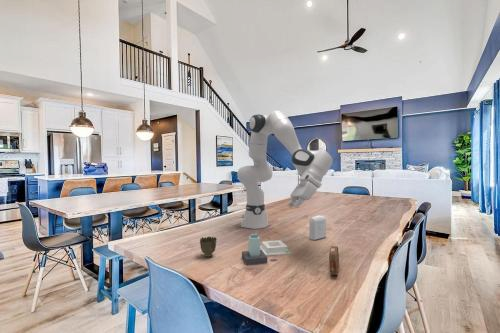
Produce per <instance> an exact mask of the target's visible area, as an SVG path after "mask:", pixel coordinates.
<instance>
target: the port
mask: <svg viewBox="0 0 500 333" xmlns="http://www.w3.org/2000/svg"><path fill="white" fill-rule="evenodd" d="M260 250H262V251H263V252H264V254H265V255H266V256H267V257H271V256H280V255H291V254H292V253H291V251H290V250H289V249H288V246H287V245H286V244H285V243H284V242H283V241H282V240H280V239H279V240H266V241H261V245H260Z"/></svg>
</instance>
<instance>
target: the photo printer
mask: <svg viewBox="0 0 500 333" xmlns="http://www.w3.org/2000/svg"><path fill="white" fill-rule="evenodd" d="M308 236H309V240H310V241H311V240H312V241H315V240H320V239H325V238H326V237H327V218H326V216H324V215H320V214H318V215H315V216H312V217H310V219H309V234H308Z"/></svg>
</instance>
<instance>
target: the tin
mask: <svg viewBox="0 0 500 333" xmlns="http://www.w3.org/2000/svg"><path fill="white" fill-rule="evenodd" d="M339 258H340V254H339V246H338V245H337V246H336V245H332V246H330V248H329V253H328V262H329V275H331V276H339V268H340V259H339Z"/></svg>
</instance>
